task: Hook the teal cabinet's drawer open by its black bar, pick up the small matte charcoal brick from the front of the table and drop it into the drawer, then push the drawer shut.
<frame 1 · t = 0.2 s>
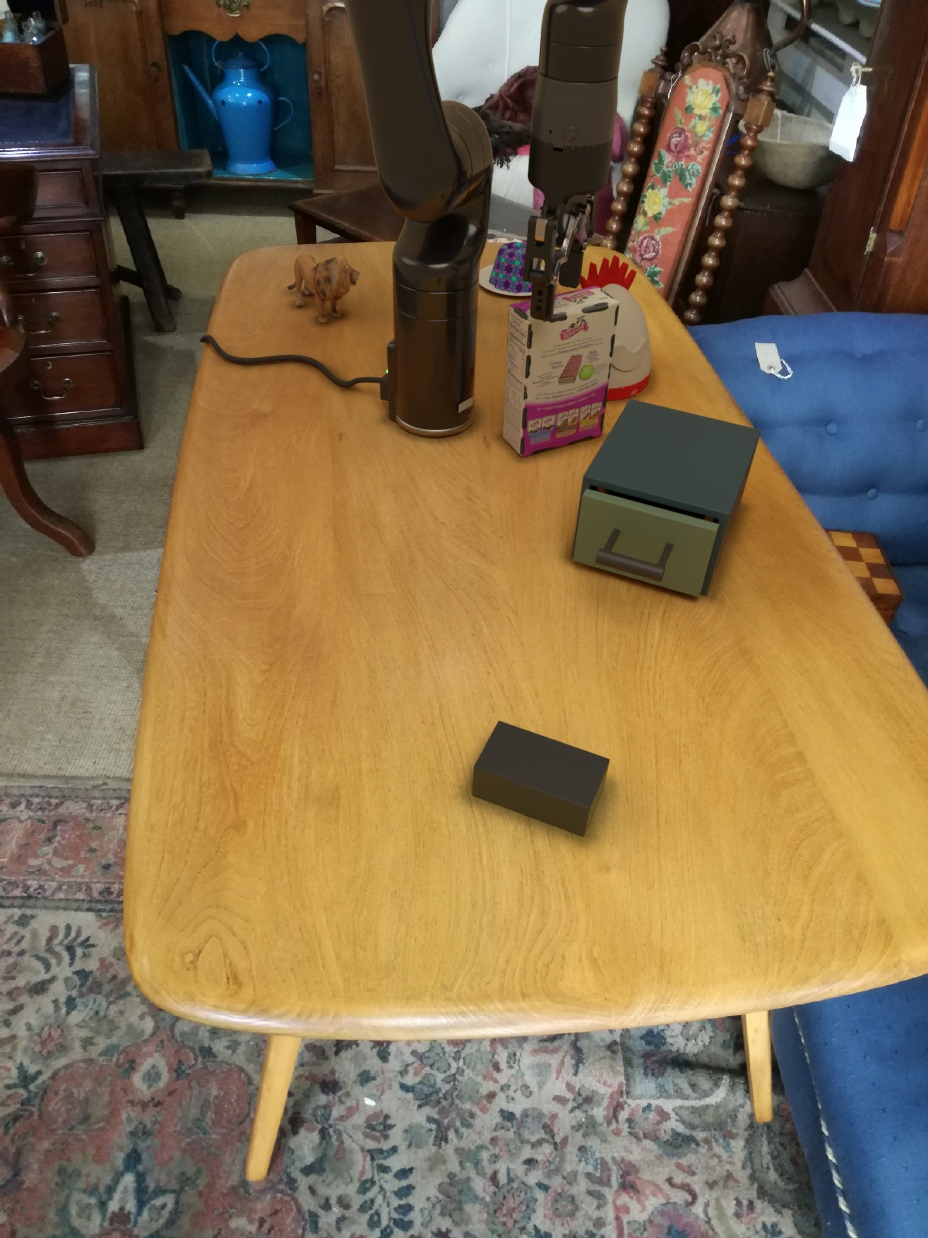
hand: (555, 301, 95), 17 cm above the table, tool pointing down, fingers open, 8 cm apart
drawer: (654, 518, 89), point 5 cm above the table, slide at 0.5 cm
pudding: (516, 284, 139), on the table
cabinet: (658, 531, 96), on the table
lion figurine: (322, 311, 131), on the table
matte charcoal brick: (538, 791, 71), on the table
candy bar box: (550, 438, 109), on the table
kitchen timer: (594, 374, 120), on the table
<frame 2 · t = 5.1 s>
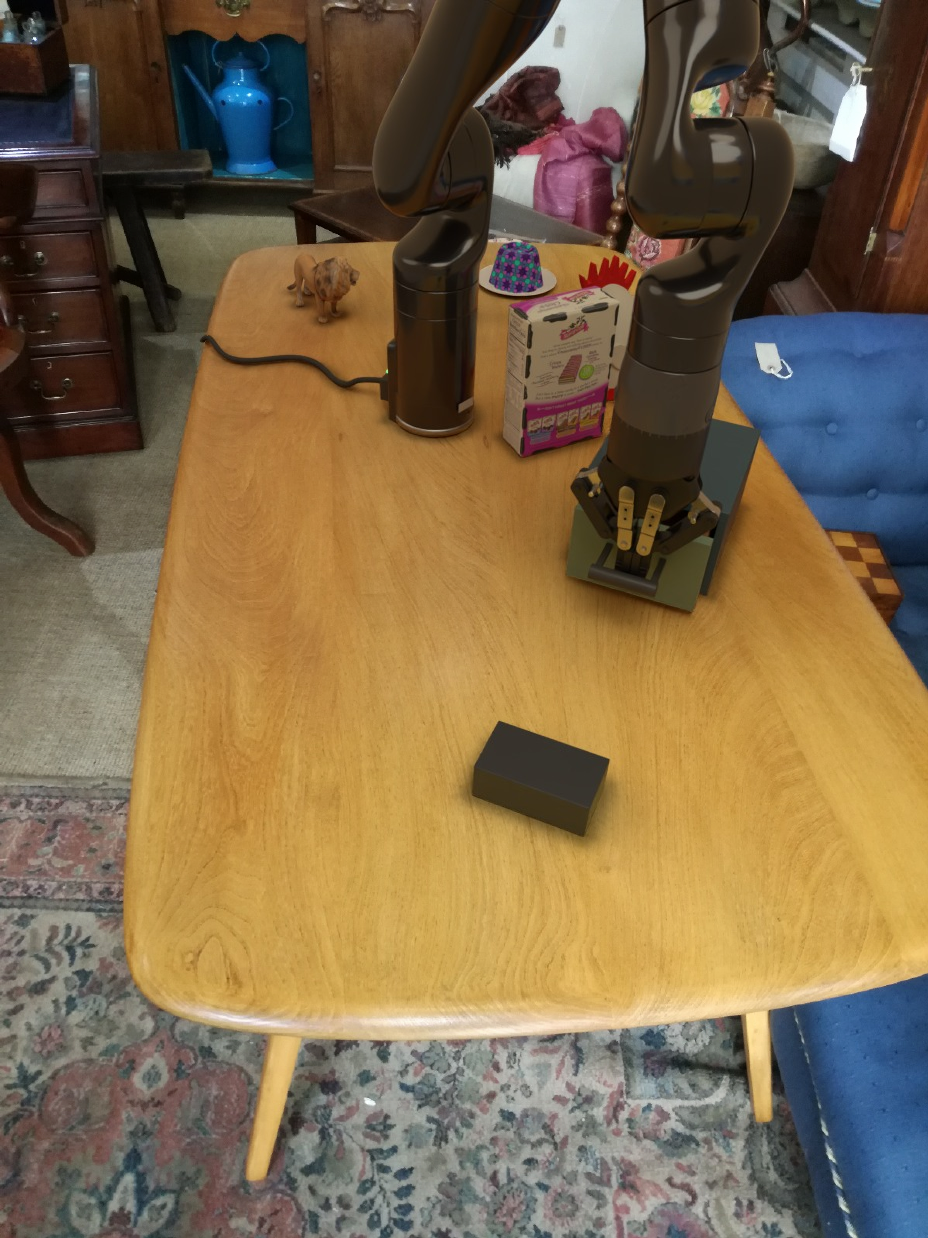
hand: (629, 577, 83), 5 cm above the table, tool pointing down, fingers closed
drawer: (648, 531, 88), point 5 cm above the table, slide at 2.8 cm, touching gripper
everything else where it was.
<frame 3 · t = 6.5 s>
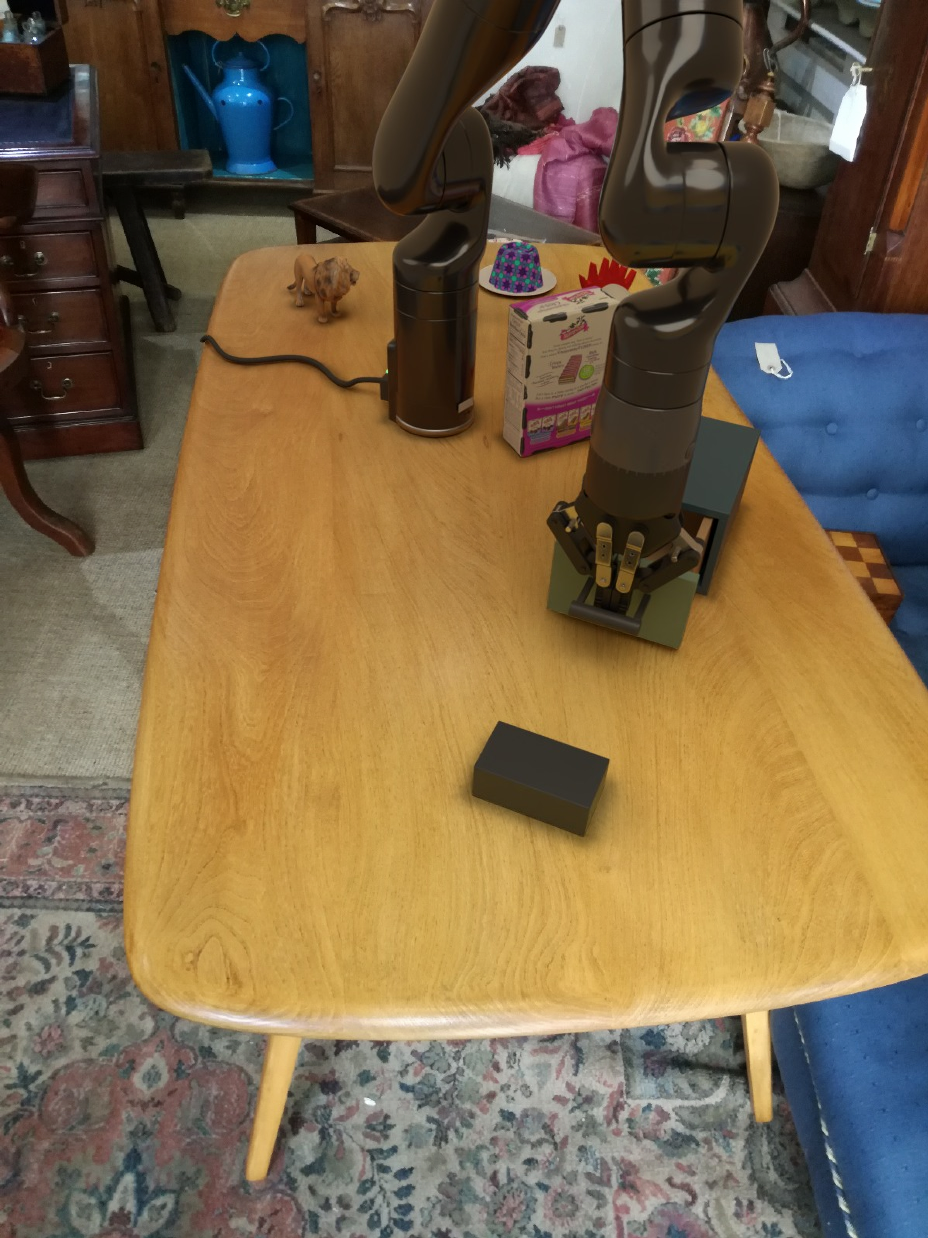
hand: (609, 614, 79), 5 cm above the table, tool pointing down, fingers closed
drawer: (632, 564, 84), point 5 cm above the table, slide at 8.1 cm
everything else where it was.
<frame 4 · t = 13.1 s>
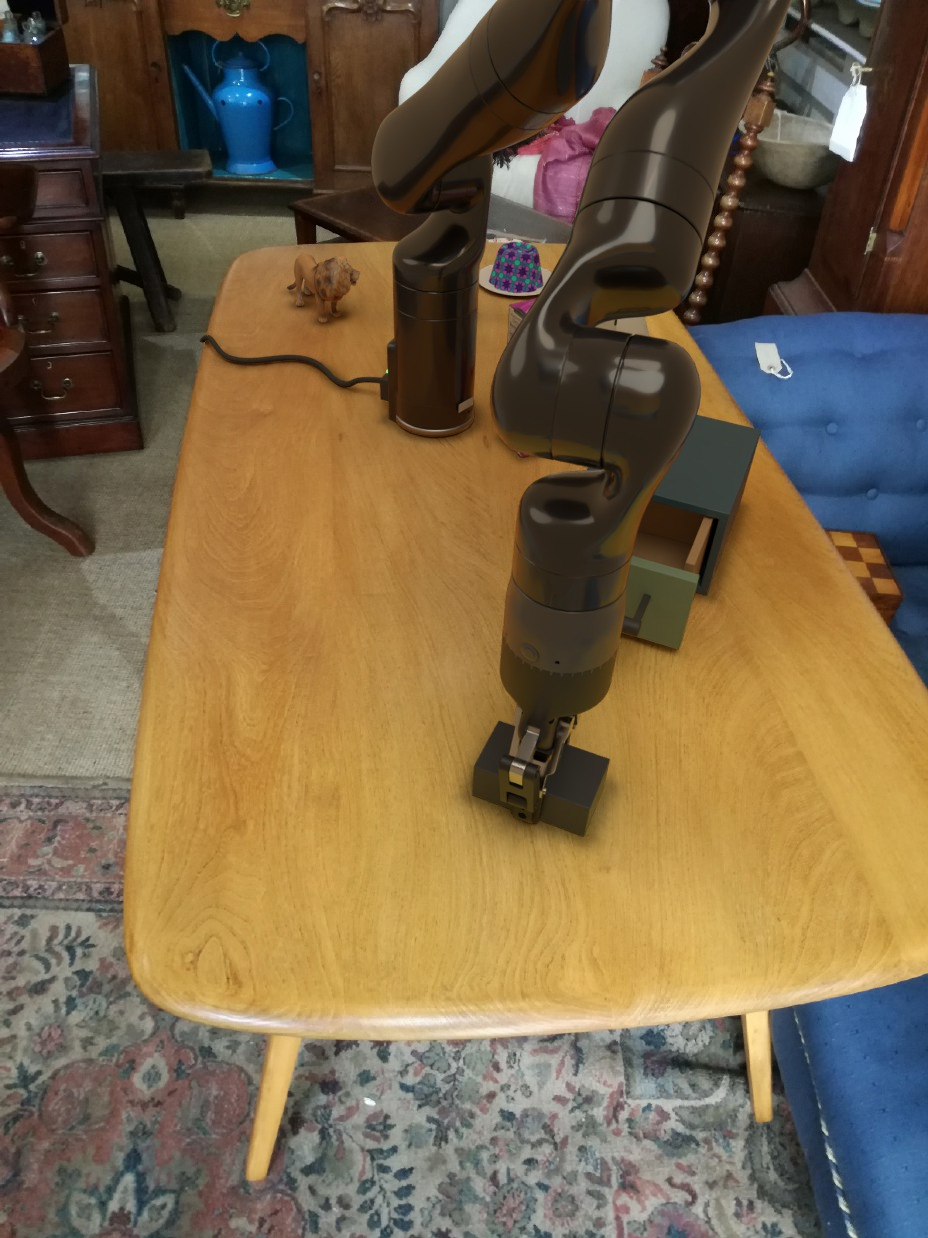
hand: (538, 787, 71), 0 cm above the table, tool pointing down, fingers closed on matte charcoal brick, 5 cm apart
matte charcoal brick: (538, 791, 71), on the table, touching gripper
everything else where it was.
when the fingers open (10 cm above the table, at t = 32.3 s): matte charcoal brick drops 7 cm, resting on drawer.
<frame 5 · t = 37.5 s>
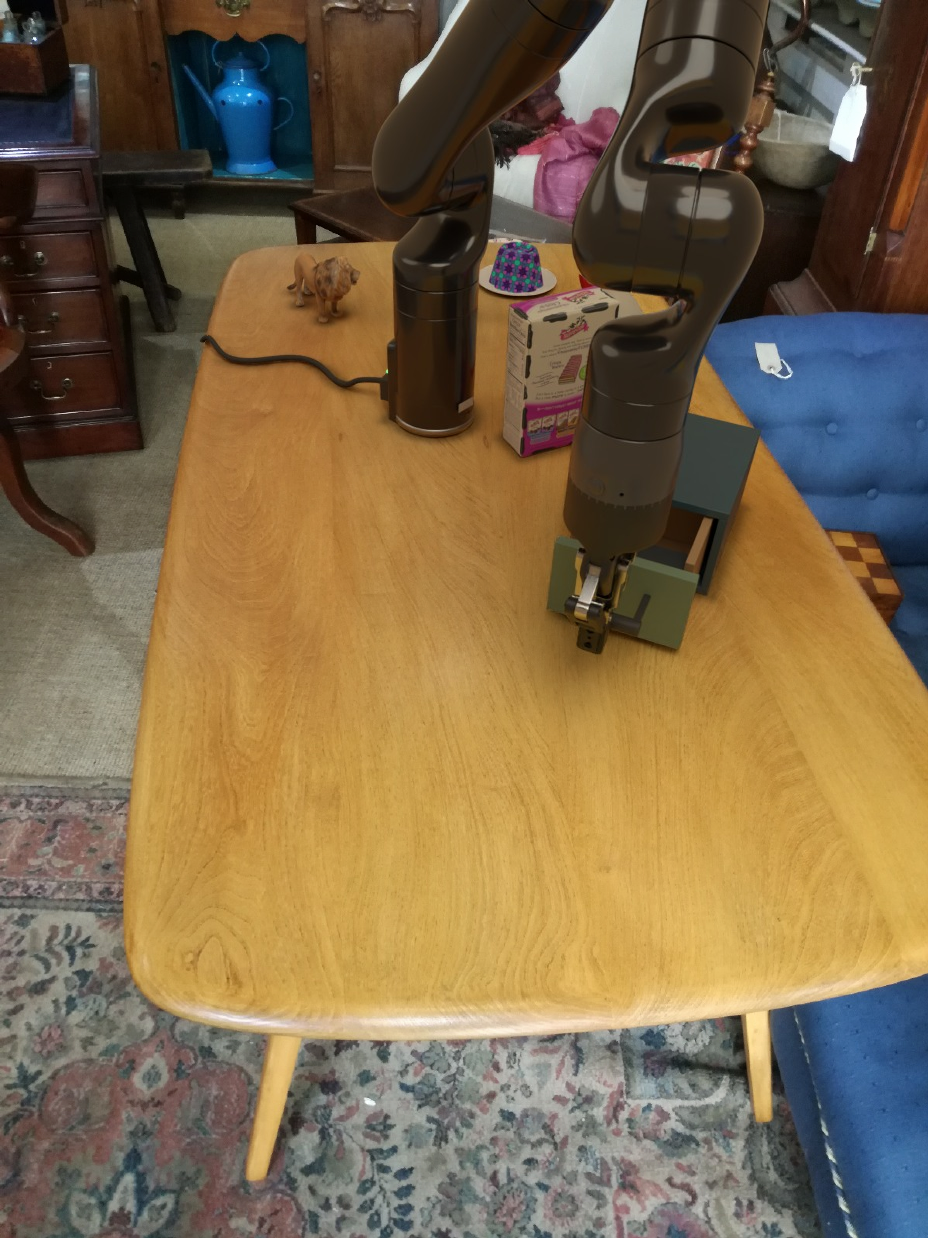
hand: (591, 646, 77), 4 cm above the table, tool pointing down, fingers closed
drawer: (632, 564, 84), point 5 cm above the table, slide at 8.2 cm, touching matte charcoal brick, gripper
matte charcoal brick: (628, 586, 86), point 2 cm above the table, touching drawer
everything else where it was.
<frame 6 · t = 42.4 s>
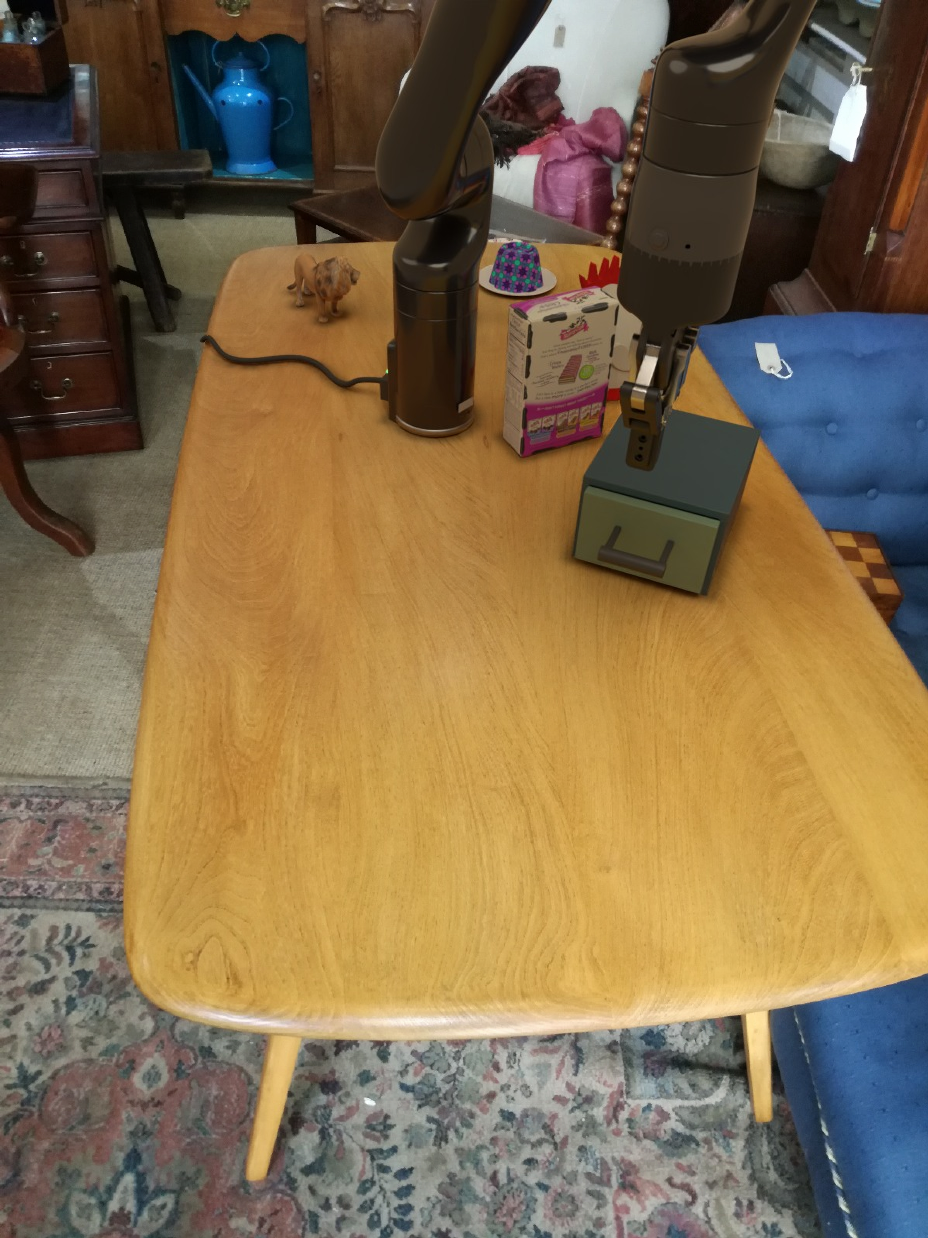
hand: (641, 463, 71), 19 cm above the table, tool pointing down, fingers closed
drawer: (655, 515, 90), point 5 cm above the table, slide at 0.0 cm, touching cabinet, matte charcoal brick
matte charcoal brick: (651, 536, 92), point 2 cm above the table, touching drawer
everything else where it was.
at the end: drawer pulled out 8.2 cm at the most during the clip, back to where it started at the end; matte charcoal brick inside the target area in the cabinet (3.9 cm from its centre), point 2.0 cm above the cabinet's base; drawer slide at 0.0 cm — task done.
